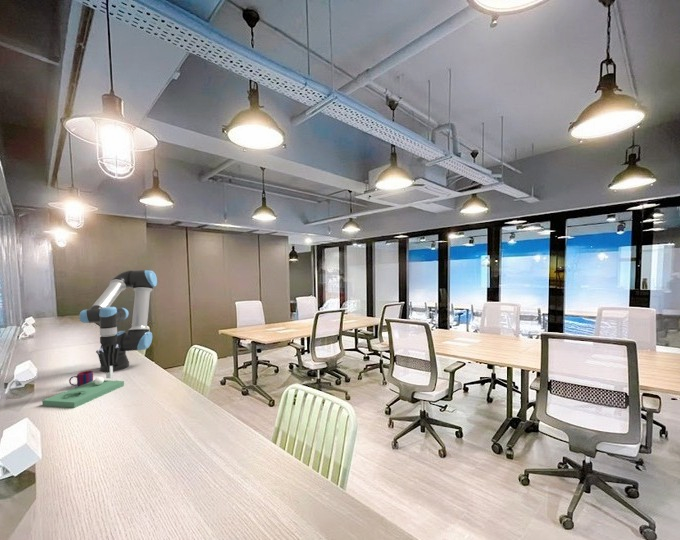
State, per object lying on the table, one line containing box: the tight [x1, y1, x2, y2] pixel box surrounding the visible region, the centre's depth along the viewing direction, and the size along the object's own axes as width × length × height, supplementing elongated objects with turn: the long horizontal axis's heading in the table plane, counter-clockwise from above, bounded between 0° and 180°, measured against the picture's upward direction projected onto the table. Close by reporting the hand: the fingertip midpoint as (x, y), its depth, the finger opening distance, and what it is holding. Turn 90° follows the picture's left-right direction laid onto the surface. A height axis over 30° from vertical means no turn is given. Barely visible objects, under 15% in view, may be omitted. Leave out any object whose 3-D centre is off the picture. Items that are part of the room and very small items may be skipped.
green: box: [41, 379, 125, 409], centre depth 151 cm, size 26×18×2 cm
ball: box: [93, 376, 105, 385], centre depth 158 cm, size 4×4×4 cm
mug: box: [68, 370, 94, 387], centre depth 164 cm, size 7×10×7 cm
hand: (109, 377), depth 164 cm, fingers closed
